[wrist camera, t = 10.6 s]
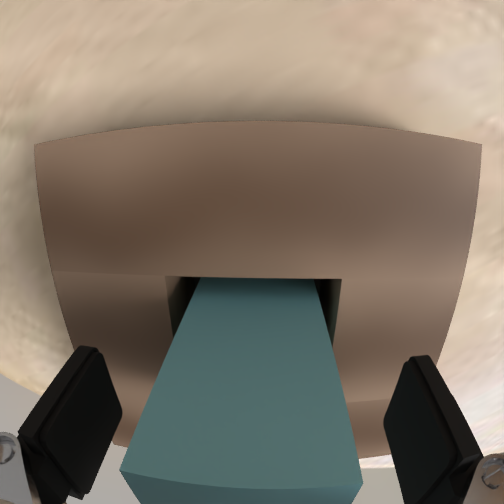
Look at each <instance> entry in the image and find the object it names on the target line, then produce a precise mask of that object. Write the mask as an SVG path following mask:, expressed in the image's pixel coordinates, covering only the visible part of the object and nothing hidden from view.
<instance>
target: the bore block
mask: <svg viewBox="0 0 504 504" xmlns="http://www.w3.org/2000/svg"><path fill="white" fill-rule="evenodd" d="M34 151H35V166H36V177H37V187H38V195H39V203H40V211H41V217H42V224H43V230H44V236H45V241H46V246H47V252H48V256H49V261H50V266H51V270H52V275H53V279H54V283H55V287H56V291H57V295H58V299H59V302H60V306H61V310H62V313H63V317H64V320H65V323H66V327H67V330H68V333H69V336H70V339H71V342H72V345H73V348H74V351H75V350H76V349H77V347H79V346H80V345H84V346H90V347H95V348H97V349H98V350H99V352H100V353H102V354H103V356H104V359H105V362H106V365H107V368H108V371H109V374H110V377H111V380H112V383H113V385H114V388H115V391H116V394H117V396H118V399H119V401H120V404H121V407H122V411H123V414H122V418H121V421H120V423H119V425H118V427H117V430H116V432H115V434H114V436H113V439H112V441H113V443H114V444H115V445H119V446H123V447H127V448H128V446H129V444H130V441H131V439H132V436H133V434H134V431H135V429H136V427H137V424H138V422H139V419H140V417H141V414H142V412H143V409H144V407H145V405H146V402H147V400H148V397H149V395H150V393H151V390H152V388H153V385H154V383H155V381H156V378H157V376H158V374H159V371H160V369H161V367H162V364H163V362H164V360H165V357H166V355H167V353H168V350H169V348H170V346H171V343H172V341H173V339H174V336H175V334H176V332H177V330H178V327H179V325H180V323H181V321H182V318H183V316H184V314H185V312H186V309H187V307H188V305H189V303H190V300H191V298H192V296H193V294H194V292H195V289H196V287H197V285H198V283H199V281H200V278H201V277H228V278H294V279H314V283H315V286H316V290H317V293H318V297H319V300H320V304H321V308H322V311H323V315H324V319H325V322H326V326H327V330H328V334H329V337H330V341H331V345H332V349H333V353H334V357H335V360H336V364H337V368H338V372H339V376H340V380H341V385H342V389H343V393H344V397H345V401H346V406H347V410H348V414H349V418H350V423H351V427H352V432H353V436H354V441H355V446H356V450H357V455H358V459H361V458H369V457H376V456H383V455H389V454H391V451H390V448H389V444H388V441H387V437H386V434H385V430H384V426H383V419H384V416H385V413H386V411H387V408H388V406H389V403H390V401H391V398H392V395H393V393H394V390H395V387H396V384H397V382H398V379H399V376H400V373H401V370H402V367H403V364H404V363H405V362H406V361H408V360H409V358H410V357H412V356H420V355H429V356H430V357H431V359H432V361H433V362H434V364H435V366H436V364H437V362H438V359H439V356H440V353H441V351H442V348H443V345H444V342H445V339H446V336H447V333H448V330H449V327H450V323H451V320H452V317H453V313H454V310H455V307H456V303H457V299H458V296H459V292H460V288H461V284H462V280H463V276H464V271H465V267H466V263H467V258H468V253H469V248H470V243H471V237H472V232H473V226H474V219H475V212H476V205H477V197H478V189H479V179H480V167H481V151H482V144H478V143H474V142H469V141H464V140H459V139H454V138H448V137H443V136H437V135H431V134H425V133H418V132H412V131H404V130H397V129H389V128H380V127H371V126H361V125H349V124H336V123H320V122H297V121H222V122H199V123H183V124H170V125H158V126H148V127H138V128H130V129H122V130H114V131H107V132H100V133H93V134H87V135H81V136H75V137H70V138H64V139H59V140H54V141H49V142H44V143H40V144H35V145H34Z"/></svg>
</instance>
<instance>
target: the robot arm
mask: <svg viewBox="0 0 504 504" xmlns="http://www.w3.org/2000/svg"><path fill="white" fill-rule="evenodd" d="M122 414H123V411H122V407H121V404H120V401H119V399H118V396H117V394H116V391H115V388H114V385H113V383H112V380H111V377H110V374H109V371H108V368H107V365H106V362H105V359H104V356H103V354H102V353H100V352H99V350H98V349H97V348H95V347H90V346H84V345H80V346H79V347H77V349H76V350H75V351H74V353H73V354H72V355H71V357H70V358H69V359H68V361H67V362H66V363H65V365H64V366H63V367H62V369H61V370H60V372H59V373H58V374H57V376H56V377H55V378H54V380H53V381H52V383H51V384H50V385H49V387H48V388H47V389H46V391H45V392H44V394H43V395H42V397H41V398H40V400H39V401H38V402H37V404H36V405H35V407H34V408H33V410H32V411H31V412H30V414H29V416H28V417H27V419H26V420H25V421H24V423H23V424H22V426H21V427H20V429H19V431H18V433H19V435H18V437H17V438H16V437H15V436H14V435H13V434H11V433H7V432H0V504H67V503H66V499H67V497H68V495H70V496H72V497H75V498H78V499H80V500H82V499H83V497H84V495H85V494H88V493H89V492H90V490H91V488H92V485H93V483H94V481H95V478H96V476H97V473H98V471H99V469H100V466H101V464H102V462H103V459H104V457H105V455H106V452H107V450H108V448H109V445H110V443H111V441H112V439H113V436H114V434H115V432H116V430H117V427H118V425H119V423H120V421H121V418H122ZM383 426H384V430H385V434H386V437H387V441H388V444H389V448H390V451H391V455H392V458H393V462H394V465H395V469H396V473H397V477H398V480H399V484H400V488H401V492H402V496H403V500H404V504H504V455H502V454H490V455H488V456H485V457H484V456H483V454H482V452H481V450H480V448H479V446H478V444H477V442H476V439H475V437H474V435H473V433H472V431H471V429H470V427H469V425H468V423H467V421H466V419H465V417H464V415H463V414H462V412H461V410H460V408H459V406H458V404H457V402H456V400H455V398H454V397H453V395H452V394H451V393H450V391H449V389H448V387H447V385H446V384H445V382H444V380H443V378H442V376H441V375H440V373H439V371H438V369H437V368H436V366H435V364H434V362H433V361H432V359H431V357H430V356H429V355H420V356H412V357H410V358H409V360H408V361H406V362H405V363H404V364H403V367H402V370H401V373H400V376H399V379H398V382H397V384H396V387H395V390H394V393H393V395H392V398H391V401H390V403H389V406H388V408H387V411H386V413H385V416H384V419H383Z"/></svg>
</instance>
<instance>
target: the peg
mask: <svg viewBox="0 0 504 504" xmlns="http://www.w3.org/2000/svg"><path fill="white" fill-rule="evenodd" d="M120 472H121V474H122V475H123V477H124V479H125V480H126V482H127V484H128V485H129V487H130V488H131V490H132V491H133V493H134V494H135V496H136V497H137V499H138V500H139V502H140V503H141V504H351V503H352V502H353V500H354V498H355V497H356V495H357V493H358V491H359V490H360V488H361V486H362V484H363V480H362V475H361V470H360V465H359V460H358V455H357V450H356V446H355V441H354V436H353V432H352V427H351V423H350V418H349V414H348V410H347V406H346V401H345V397H344V393H343V389H342V385H341V380H340V376H339V372H338V368H337V364H336V360H335V357H334V353H333V349H332V345H331V341H330V337H329V334H328V330H327V326H326V322H325V319H324V315H323V311H322V308H321V304H320V300H319V297H318V293H317V290H316V286H315V283H314V279H294V278H228V277H201V278H200V281H199V283H198V285H197V287H196V289H195V292H194V294H193V296H192V298H191V300H190V303H189V305H188V307H187V309H186V312H185V314H184V316H183V318H182V321H181V323H180V325H179V327H178V330H177V332H176V334H175V336H174V339H173V341H172V343H171V346H170V348H169V350H168V353H167V355H166V357H165V360H164V362H163V364H162V367H161V369H160V371H159V374H158V376H157V378H156V381H155V383H154V385H153V388H152V390H151V393H150V395H149V397H148V400H147V402H146V405H145V407H144V409H143V412H142V414H141V417H140V419H139V422H138V424H137V427H136V429H135V431H134V434H133V436H132V439H131V441H130V444H129V446H128V449H127V452H126V454H125V457H124V459H123V462H122V464H121V467H120Z"/></svg>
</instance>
